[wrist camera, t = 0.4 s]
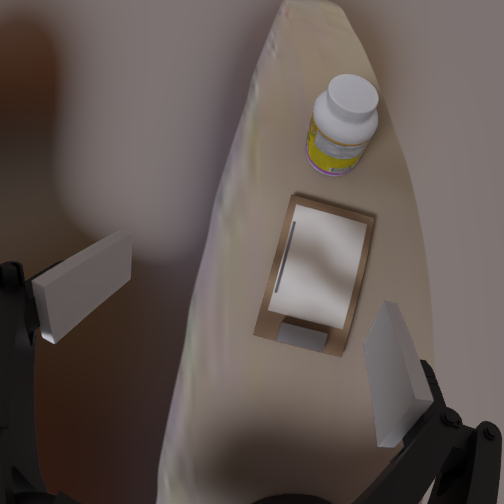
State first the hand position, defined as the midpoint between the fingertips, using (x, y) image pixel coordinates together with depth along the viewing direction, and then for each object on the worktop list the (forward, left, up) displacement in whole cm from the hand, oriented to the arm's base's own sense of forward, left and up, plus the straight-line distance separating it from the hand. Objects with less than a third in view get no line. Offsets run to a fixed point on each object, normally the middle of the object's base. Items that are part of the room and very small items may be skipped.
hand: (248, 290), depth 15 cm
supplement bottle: (+19, -4, -19) cm, 27 cm away
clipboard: (+4, -5, -19) cm, 20 cm away
